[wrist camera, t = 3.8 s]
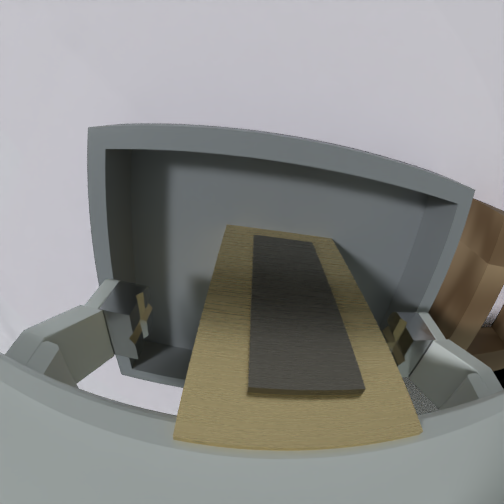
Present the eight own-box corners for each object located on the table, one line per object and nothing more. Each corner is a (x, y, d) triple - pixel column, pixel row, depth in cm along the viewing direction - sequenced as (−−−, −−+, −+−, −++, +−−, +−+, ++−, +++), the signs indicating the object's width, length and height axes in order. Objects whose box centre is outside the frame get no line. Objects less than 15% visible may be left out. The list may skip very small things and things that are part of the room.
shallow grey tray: (364, 363, 14) (376, 396, 12) (136, 340, 14) (121, 374, 12) (439, 174, 9) (475, 190, 7) (122, 123, 9) (88, 127, 7)
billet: (308, 319, 12) (339, 493, 5) (218, 310, 12) (188, 492, 5) (332, 234, 10) (428, 427, 3) (227, 220, 10) (171, 432, 3)
